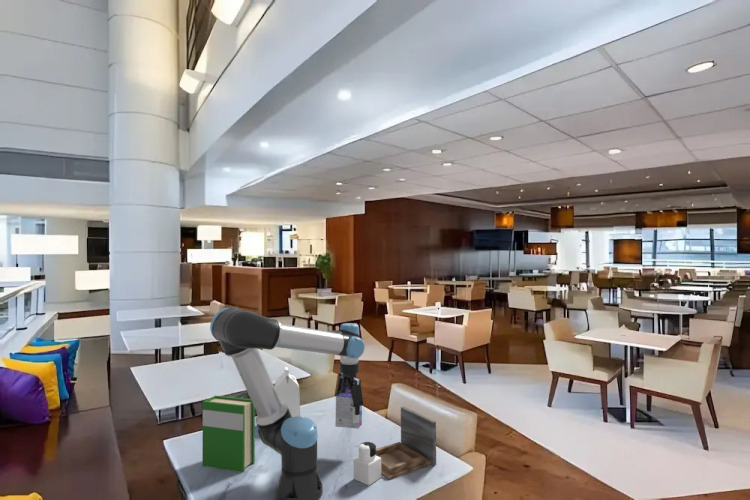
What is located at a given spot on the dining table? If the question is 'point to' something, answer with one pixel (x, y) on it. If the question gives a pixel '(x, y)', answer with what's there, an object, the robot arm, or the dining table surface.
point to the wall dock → (410, 446)
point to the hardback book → (228, 433)
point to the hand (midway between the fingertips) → (348, 418)
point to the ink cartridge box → (346, 411)
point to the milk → (288, 392)
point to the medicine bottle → (367, 464)
